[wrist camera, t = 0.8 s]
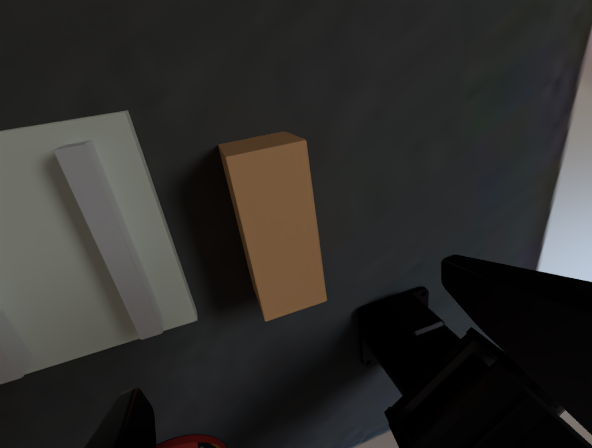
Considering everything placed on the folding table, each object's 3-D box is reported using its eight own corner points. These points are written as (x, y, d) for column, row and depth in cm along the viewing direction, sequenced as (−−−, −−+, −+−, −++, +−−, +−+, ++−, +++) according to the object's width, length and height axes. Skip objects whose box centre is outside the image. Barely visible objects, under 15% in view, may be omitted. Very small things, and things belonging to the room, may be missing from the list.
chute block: (305, 269, 24) (326, 300, 20) (252, 285, 23) (265, 321, 19) (283, 130, 19) (305, 139, 16) (217, 144, 18) (225, 157, 15)
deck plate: (196, 310, 22) (198, 336, 20) (-8, 373, 19) (-33, 411, 17) (127, 110, 16) (119, 113, 14) (-174, 158, 14) (-244, 172, 11)
